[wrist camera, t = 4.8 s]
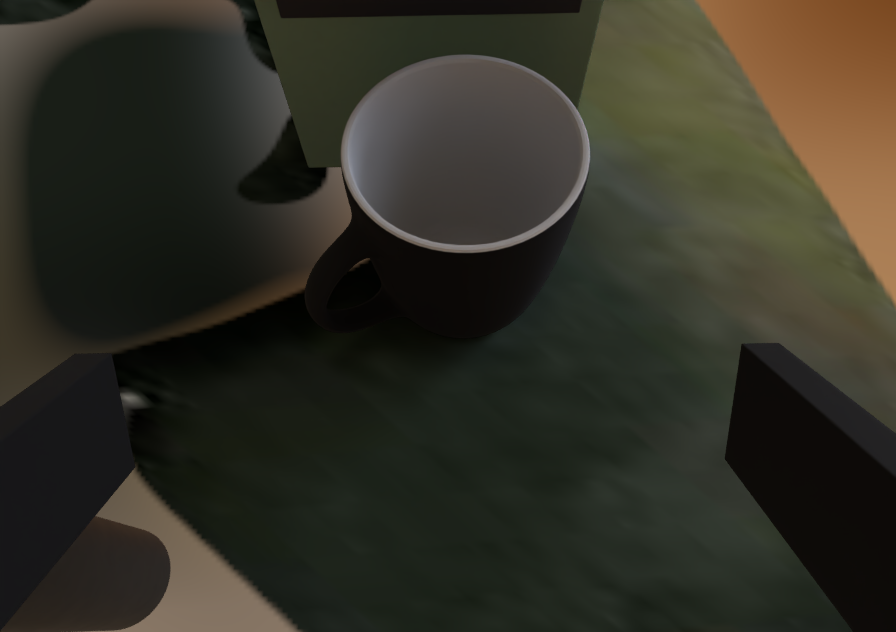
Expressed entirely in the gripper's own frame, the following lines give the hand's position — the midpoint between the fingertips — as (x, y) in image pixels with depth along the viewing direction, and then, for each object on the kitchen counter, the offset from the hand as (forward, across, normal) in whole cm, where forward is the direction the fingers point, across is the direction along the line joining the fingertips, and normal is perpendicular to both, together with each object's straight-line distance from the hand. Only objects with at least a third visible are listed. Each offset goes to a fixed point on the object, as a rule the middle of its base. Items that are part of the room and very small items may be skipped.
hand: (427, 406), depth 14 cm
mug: (+18, 0, -4) cm, 18 cm away
